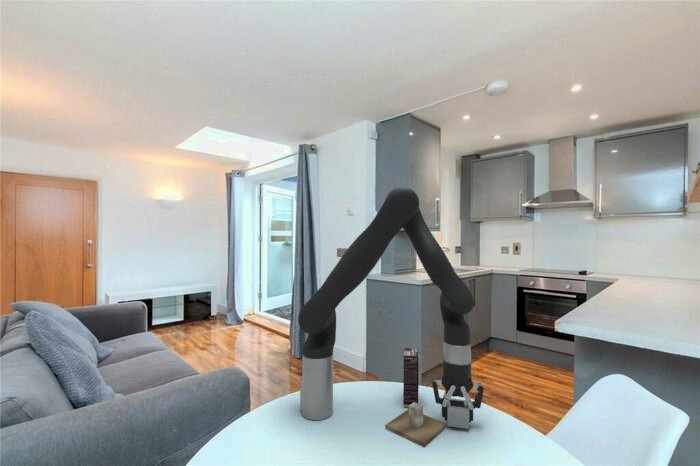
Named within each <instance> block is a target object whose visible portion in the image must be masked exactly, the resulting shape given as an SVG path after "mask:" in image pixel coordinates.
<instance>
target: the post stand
mask: <svg viewBox="0 0 700 466" xmlns="http://www.w3.org/2000/svg"><path fill="white" fill-rule="evenodd" d="M384 427H385V430H388V431H389V432H392V433H393V434H396V435H397V436H400V437H402V438H404V439H406V440H408V441H411V442H413V443H414V444H417V445H419V446H421V447H423V448H425V447H427V446H428V445H429V444H430V443H431V442H432V441H434V439H436V437H438V436H439V435H440V434H441V433H442V432H443V431H444V430H445V429H446V428H447V427H448V425H447V422H444V421H440V420H439V419H436V418H433V417H431V416H428V415H426V414H424V405H422V404H420V403H419V402H418V403H415V402H414V403H412V404H411V405H409V408H407V409H406V410H405V411H404V412H402V413H401V414H398V416H396V417H394V418H393V419H391V420H390V421H389V422H387V423H385V426H384Z"/></svg>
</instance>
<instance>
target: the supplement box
mask: <svg viewBox="0 0 700 466" xmlns="http://www.w3.org/2000/svg"><path fill="white" fill-rule="evenodd" d="M403 348H404V350H403V351H404V353H403V394H402V395H403V396H402V397H403V405H402V406H403V408H407V409H409V405H411V404H412V403H414V402H415V403H418V404H419V385H420V384H419V382H420V381H419V379H420V378H419V373H420V372H419V367H420V365H419V363H420V362H419V360H420V359H419V348H417V347H416V348H415V347H403Z"/></svg>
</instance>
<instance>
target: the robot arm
mask: <svg viewBox="0 0 700 466" xmlns="http://www.w3.org/2000/svg"><path fill="white" fill-rule="evenodd" d="M421 211H422V210H421V209H420V199H419V196H418V194H417V192H415V190H413V189H412V188H410V187H408V186H407V187H406V186H399V187H395V188H393V189H392V190H391V191H389V193H388V194H387V196H386V198H385V199H384V202H383V203H382V205H381V207H380V208H379V210H378V212H377V214H376V215H375V217H374V218H373V220H372V221H371V223H370V224H369V225H368V226H367V227H366V228H365V229H364V230H363V231H362V232H361V233H360V234H359V235H358V236H357V237H356V238H355V240H354V241H353V242H352V243H351V244H350V246H349V247H348V248H347V249H346V251H345V252H344V253H343V255H342V256H341V257H340V258H339V260H338V262H337V263H336V264H335V266H334V267H333V269H332V270H331V271H330V273H329V275H328V276H327V278H326V279H325V281H324V282H323V283H322V285H321V286H320V288H318V290H317V291H316V292H315V293H314V294H313V295H312V296H311V297H310V299H309V300H308V301H307V302H305V304H304V305H303V306H302V307H301V309H300V311H299V312H298V317H297V320H298V321H297V322H298V326H299V329H300V330H301V331H302V332H303V333H305V334H307V337H306V339H305V341H304V343H303V345H302V375H301V376H302V377H301V378H300V380H299V383H300V384H299V388H300V392H299V396H300V397H299V398H300V399H299V411H300V412H301V415H302V416H303V417H304V418H305V419H307V420H311V421H321V420H322V421H323V420H325V419H328V418H329V417H331V416H332V415H333V413H334V347H335V343H336V334H337V312H336V309H337V307H338V306H339V305H340V303H342V301H344V299H345V298H346V297H348V296H349V295H350V294H351V293H353V291H354V290H356V288H357V287H359V286H360V285H361V283H363V282H364V281H365V279H366V278H367V277H368V276H369V274H370V273H371V272H372V271H373V269H374V268H375V266H376V265H377V264H378V263H379V260H380V259H381V258H382V256H383V254H384V253H385V251H386V250H387V248H388V246H389V245H390V243H391V241H392V240H393V239H394V238H395V236H396V235H397V234H398V233H399V232H400V231H401V230H402V229H403V230H404V232H405V233H406V235H407V237H408V239H409V240H410V242H411V244H412V246H413V249H414V250H415V253H416V255H417V257H418V259H419V261H420V263H421V265H422V266H423V269H424V270H425V272H426V274H427V276H428V277H429V279H430V281H431V282H432V283H433V284H434V285H435V286H436V287H437V288H438V289H439V290H440V291H441V294H440V297H439V307H440V312H441V318H442V323H443V346H442V347H443V349H442V370H443V371H442V376H441V379H436V378H432V379H431V382H432V383H431V384H432V391H433V394H434V395H433V396H434V401H435V404H439V405H441V416H442V417H441V418H443V419H444V421H447V404H448V401H449V400H450V398H451V399H452V397H455V398H456V397H458V398H464V400H466V402H467V404H468V407H469V424H471V423H472V422H473V421H474V410H475V409H481V406H482V401H483V395H484V386H483V384H482V383H481V382H479V383H476V382H473V380H472V350H471V330H470V329H471V328H470V324H469V323H468V322H467V321H466V320H465V317H464V316H465V315H467V314H469V313H471V312H472V310H473V308H474V307H475V299H474V296H473V294H472V292H471V290H470V288H469V287H468V286H467V284H466V283H465V282H464V281H463V279H462V278H461V277H460V276H459V275H458V274H457V272H456V271H455V269H454V268H453V266H452V264H451V262H450V260H449V258H448V257H447V254H446V253H445V251H444V250H443V248H442V247H441V245H440V244H439V243H438V240H437V239H436V238H435V236H434V235H433V233H432V232H431V230H430V228H429V227H428V225H427V223H426V221H425V219H424V217H423V215H422V212H421ZM441 385H442V387H444V389H445V391H444V393H443V396H442V397H441V396H440V394H439V393H440V392H439V389H440V388H441ZM473 388H474V389H473ZM472 389H473V390H474V392H475V397H474V400H473V401H472V400H471V397H470V395H469V393H470V392H471V390H472Z"/></svg>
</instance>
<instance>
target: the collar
mask: <svg viewBox="0 0 700 466" xmlns="http://www.w3.org/2000/svg"><path fill="white" fill-rule="evenodd" d="M446 424H447V427H453V428H458V429H465V430H466V429H467V430H470V423H469V407H468V404H467V402H466V400H465V399H460V398H459V399H458V398H452V397H451V398H450V400H449V401H448V404H447V420H446Z"/></svg>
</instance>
